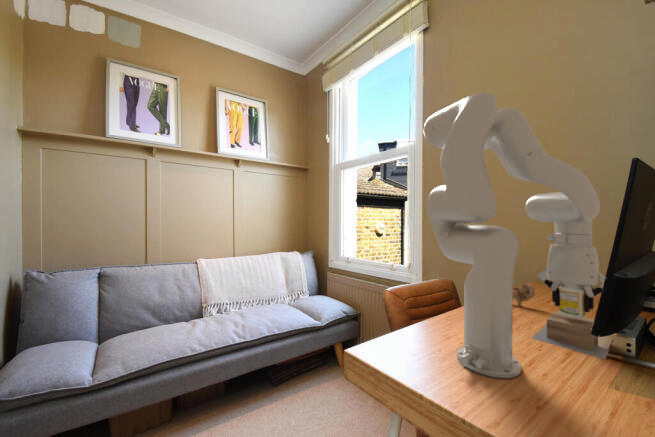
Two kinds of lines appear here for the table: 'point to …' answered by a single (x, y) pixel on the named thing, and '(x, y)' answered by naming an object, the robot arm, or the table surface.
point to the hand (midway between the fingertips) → (572, 307)
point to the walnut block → (571, 330)
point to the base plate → (595, 352)
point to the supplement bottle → (572, 300)
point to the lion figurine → (523, 293)
